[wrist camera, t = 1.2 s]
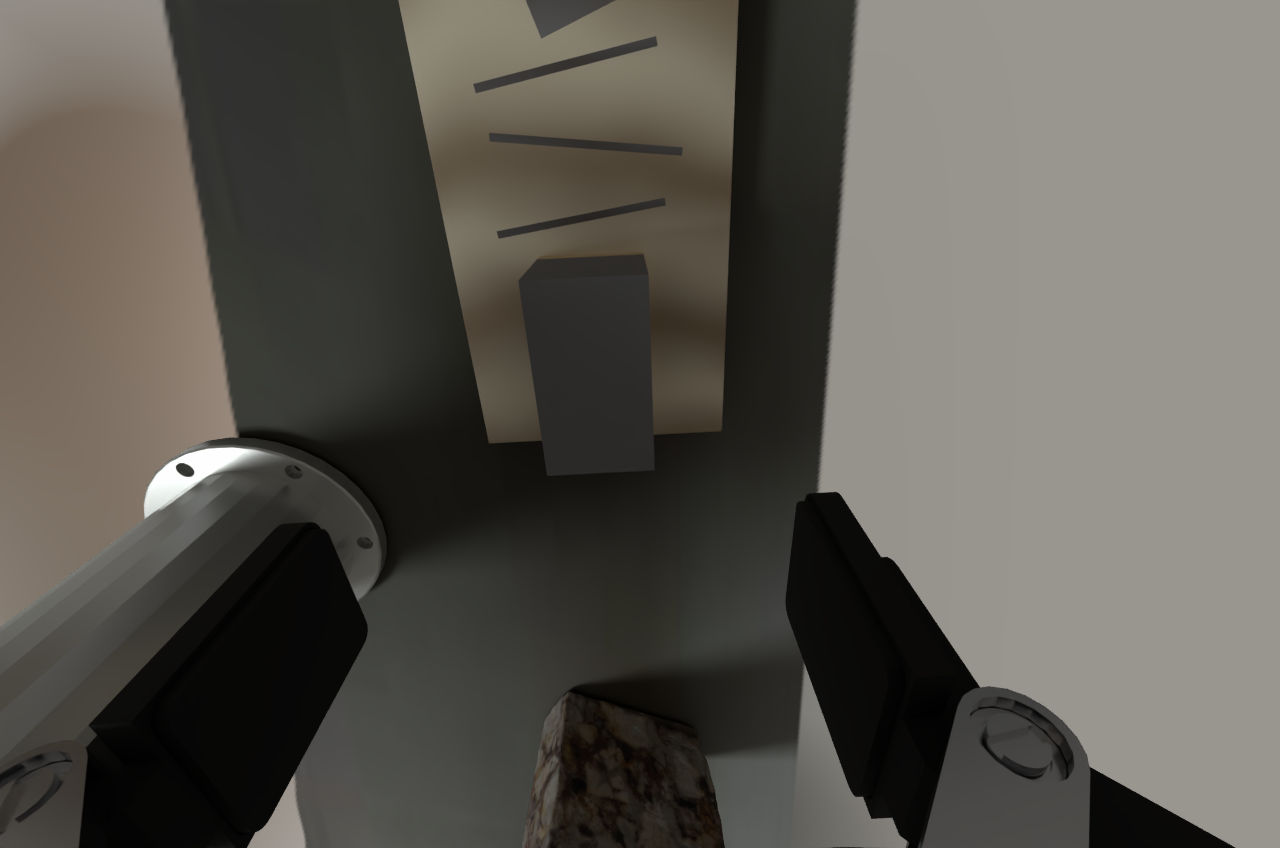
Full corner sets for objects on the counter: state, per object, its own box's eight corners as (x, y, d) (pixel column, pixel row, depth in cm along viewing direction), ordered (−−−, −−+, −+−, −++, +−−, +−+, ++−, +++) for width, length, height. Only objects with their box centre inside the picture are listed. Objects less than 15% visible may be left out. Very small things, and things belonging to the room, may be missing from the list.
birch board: (716, 417, 27) (721, 431, 26) (495, 428, 27) (489, 443, 26) (738, -240, 16) (749, -279, 15) (368, -227, 16) (344, -264, 15)
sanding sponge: (648, 417, 26) (654, 470, 21) (560, 421, 25) (546, 475, 21) (642, 251, 22) (648, 274, 17) (538, 256, 22) (518, 280, 17)
